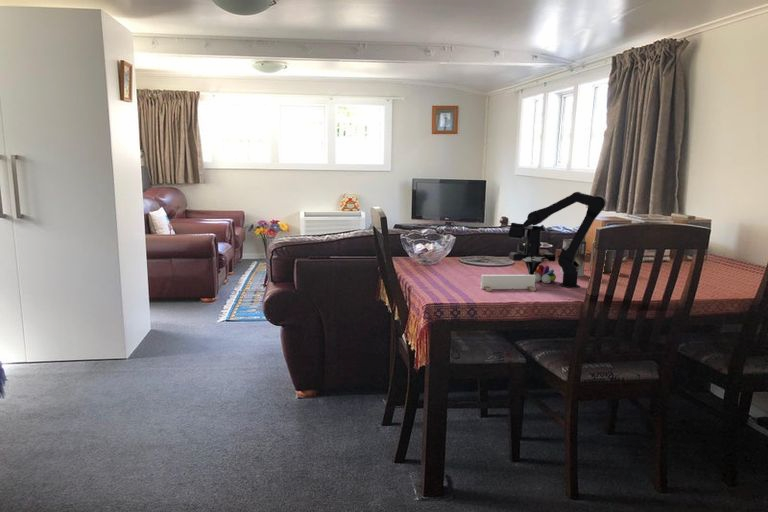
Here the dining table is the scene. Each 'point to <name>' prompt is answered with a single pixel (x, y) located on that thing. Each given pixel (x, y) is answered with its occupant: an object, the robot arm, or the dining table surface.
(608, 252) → the pillar candle
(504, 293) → the dining table surface
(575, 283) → the robot arm
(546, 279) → the pom poms
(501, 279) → the white rectangular box
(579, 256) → the coffee box
